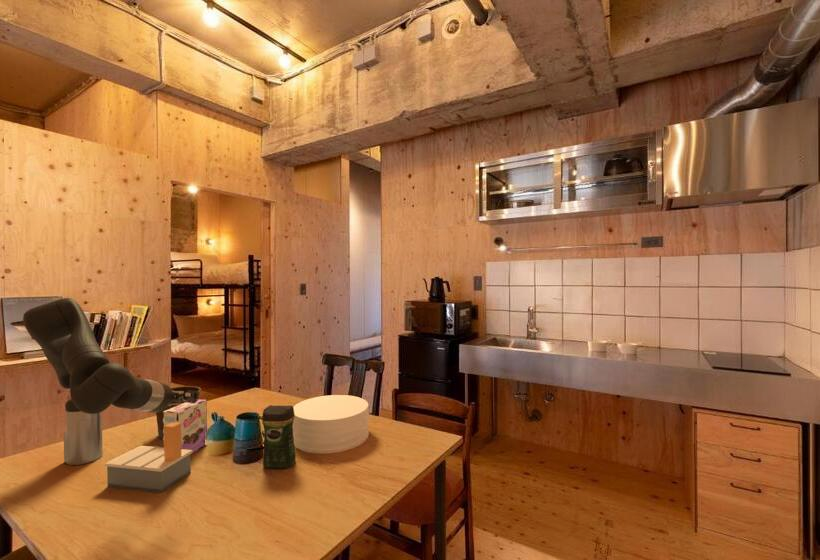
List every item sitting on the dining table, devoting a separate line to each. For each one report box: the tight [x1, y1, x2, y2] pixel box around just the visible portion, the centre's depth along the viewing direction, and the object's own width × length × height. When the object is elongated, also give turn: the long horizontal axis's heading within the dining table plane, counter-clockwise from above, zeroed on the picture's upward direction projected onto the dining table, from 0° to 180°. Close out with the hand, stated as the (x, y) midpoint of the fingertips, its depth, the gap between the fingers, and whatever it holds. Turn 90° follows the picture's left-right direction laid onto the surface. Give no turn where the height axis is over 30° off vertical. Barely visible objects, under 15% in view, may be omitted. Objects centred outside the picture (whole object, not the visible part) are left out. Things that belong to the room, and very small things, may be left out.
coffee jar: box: [261, 405, 296, 469], centre depth 124 cm, size 10×8×19 cm
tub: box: [106, 454, 192, 493], centre depth 115 cm, size 18×11×6 cm, turn 79°
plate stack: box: [293, 394, 370, 454], centre depth 145 cm, size 28×28×12 cm
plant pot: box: [155, 385, 202, 440], centre depth 150 cm, size 16×16×16 cm
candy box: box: [162, 398, 208, 455], centre depth 133 cm, size 14×6×16 cm, turn 168°
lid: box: [104, 422, 194, 472], centre depth 115 cm, size 19×12×11 cm, turn 79°
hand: (179, 401), depth 112 cm, fingers open, 8 cm apart
